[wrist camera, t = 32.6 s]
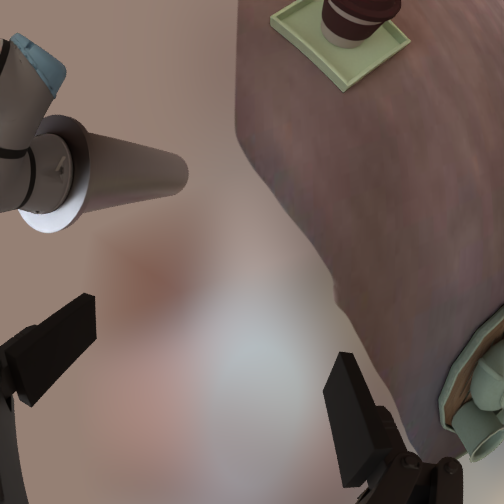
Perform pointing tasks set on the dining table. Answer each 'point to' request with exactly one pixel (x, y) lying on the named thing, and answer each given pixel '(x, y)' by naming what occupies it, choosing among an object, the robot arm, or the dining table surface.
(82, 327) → the robot arm
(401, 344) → the dining table surface
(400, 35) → the tray
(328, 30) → the coffee cup
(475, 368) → the tea set
